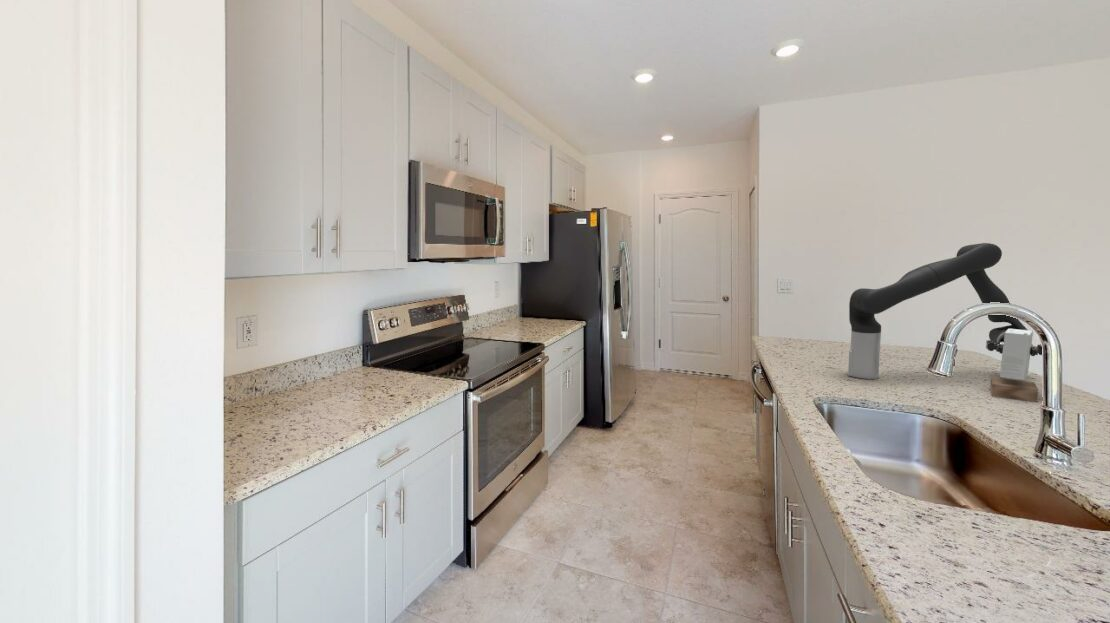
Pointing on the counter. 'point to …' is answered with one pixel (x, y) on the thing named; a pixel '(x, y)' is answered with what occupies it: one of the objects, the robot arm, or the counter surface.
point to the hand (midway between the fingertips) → (1017, 351)
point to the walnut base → (1013, 389)
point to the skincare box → (1016, 354)
